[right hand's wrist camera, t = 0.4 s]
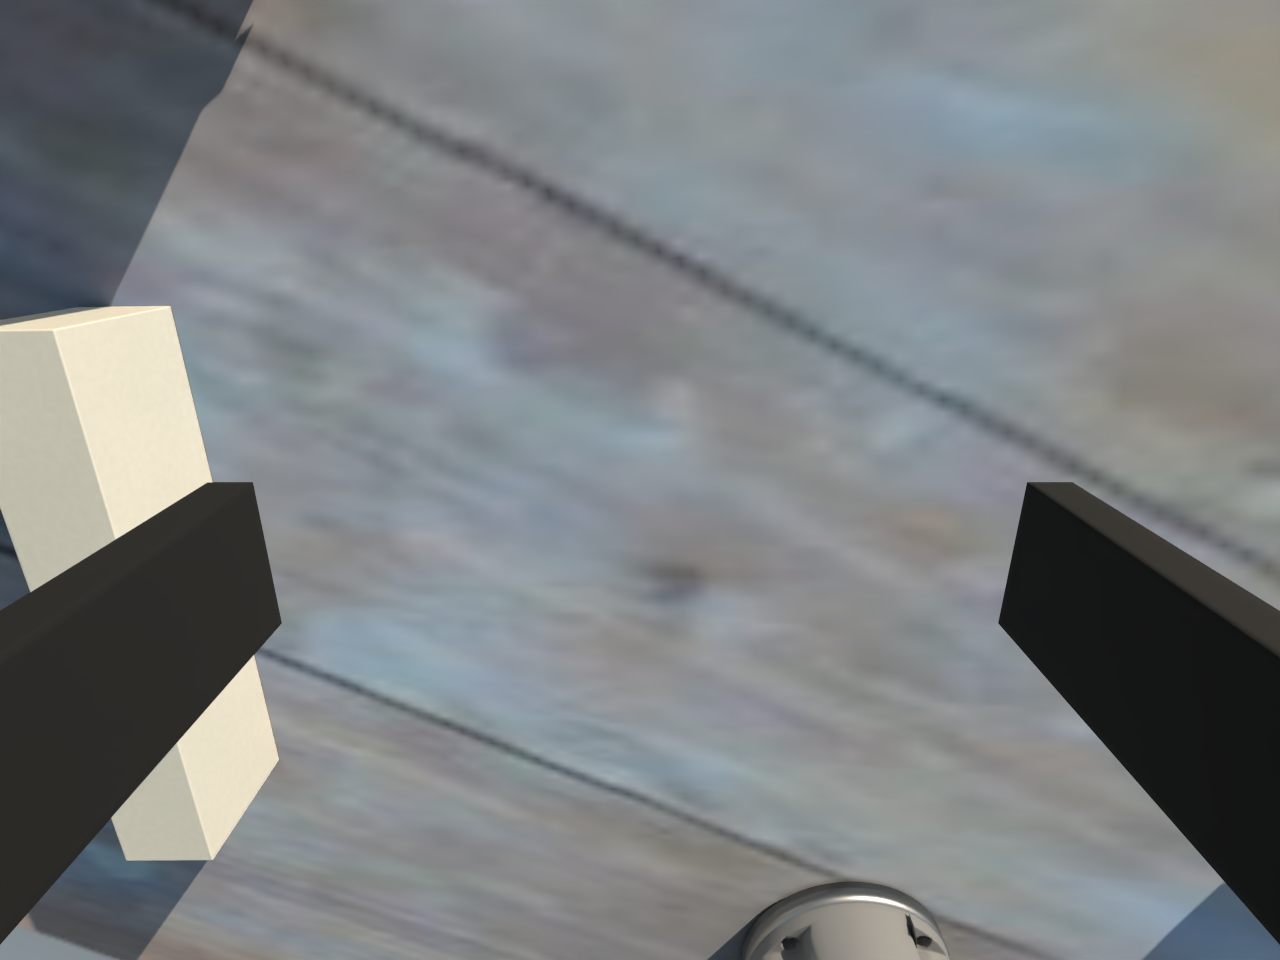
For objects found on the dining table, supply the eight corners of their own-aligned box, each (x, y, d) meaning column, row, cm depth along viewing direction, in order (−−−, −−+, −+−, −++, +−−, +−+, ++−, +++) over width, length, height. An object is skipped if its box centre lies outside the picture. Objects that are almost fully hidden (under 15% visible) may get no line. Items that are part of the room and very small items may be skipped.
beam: (279, 759, 48) (213, 860, 40) (205, 760, 48) (125, 861, 40) (171, 305, 37) (53, 329, 30) (76, 307, 37) (-65, 330, 30)
